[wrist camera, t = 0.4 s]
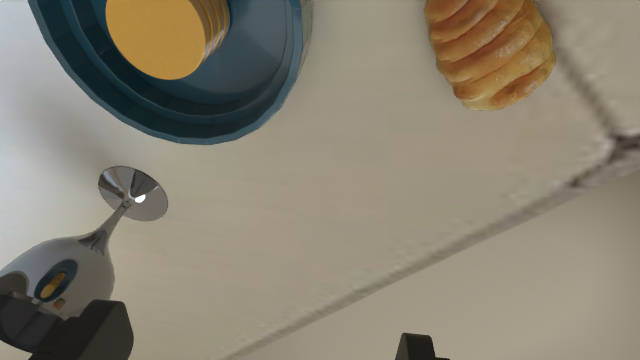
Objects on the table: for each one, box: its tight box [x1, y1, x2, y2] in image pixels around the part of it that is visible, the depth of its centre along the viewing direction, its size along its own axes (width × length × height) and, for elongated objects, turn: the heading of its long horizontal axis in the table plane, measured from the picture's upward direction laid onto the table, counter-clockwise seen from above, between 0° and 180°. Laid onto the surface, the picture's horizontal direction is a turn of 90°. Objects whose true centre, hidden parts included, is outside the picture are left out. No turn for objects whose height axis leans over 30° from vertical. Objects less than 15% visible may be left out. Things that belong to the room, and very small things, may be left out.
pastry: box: [424, 0, 556, 111], centre depth 24 cm, size 9×7×4 cm
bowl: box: [28, 0, 312, 145], centre depth 25 cm, size 17×17×4 cm
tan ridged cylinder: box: [106, 0, 230, 80], centre depth 25 cm, size 6×6×5 cm
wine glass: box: [0, 167, 168, 353], centre depth 33 cm, size 8×8×15 cm
